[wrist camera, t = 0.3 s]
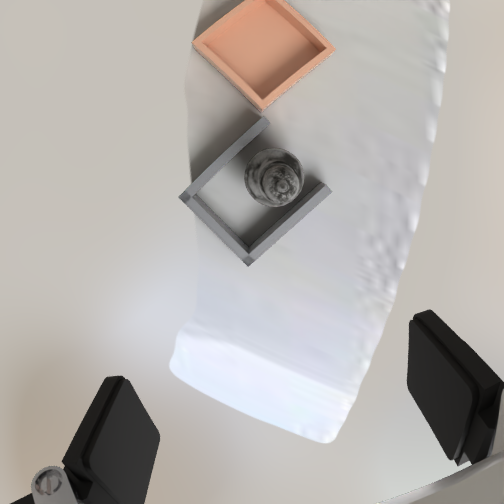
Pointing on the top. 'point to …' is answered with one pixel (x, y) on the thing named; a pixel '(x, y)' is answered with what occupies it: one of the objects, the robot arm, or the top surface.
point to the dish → (263, 49)
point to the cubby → (223, 230)
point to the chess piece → (274, 177)
